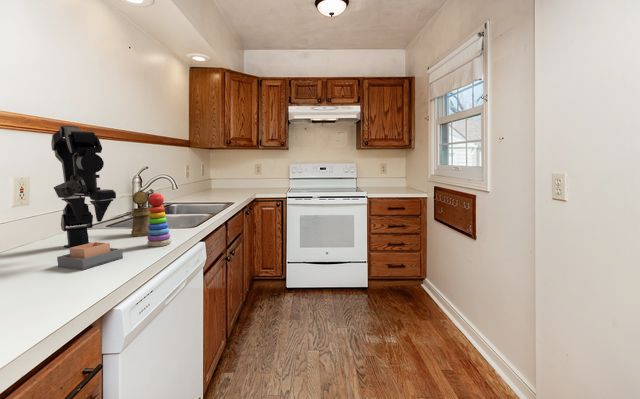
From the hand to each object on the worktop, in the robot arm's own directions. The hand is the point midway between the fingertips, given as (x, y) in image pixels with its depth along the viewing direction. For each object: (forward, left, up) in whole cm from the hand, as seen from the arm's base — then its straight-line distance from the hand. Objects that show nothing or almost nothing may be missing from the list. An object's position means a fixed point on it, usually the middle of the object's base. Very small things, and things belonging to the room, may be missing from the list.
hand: (89, 220), depth 109 cm
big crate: (+8, -6, -11) cm, 15 cm away
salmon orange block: (+8, -6, -11) cm, 14 cm away
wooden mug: (-13, +32, -12) cm, 37 cm away
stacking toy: (+10, +18, -12) cm, 24 cm away
